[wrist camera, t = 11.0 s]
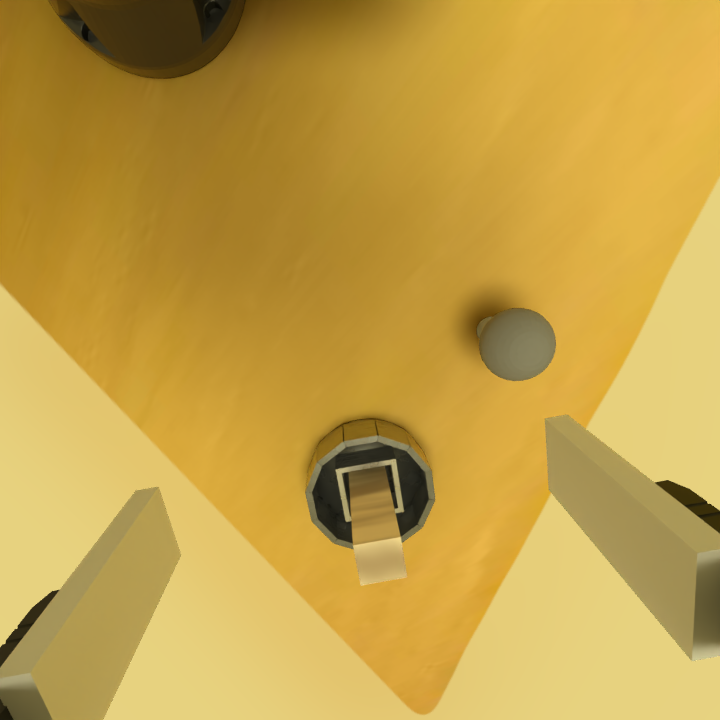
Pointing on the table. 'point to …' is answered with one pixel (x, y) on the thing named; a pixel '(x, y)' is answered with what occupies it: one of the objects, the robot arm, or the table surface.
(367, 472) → the tan square post
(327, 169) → the table surface
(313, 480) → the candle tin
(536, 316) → the light bulb
